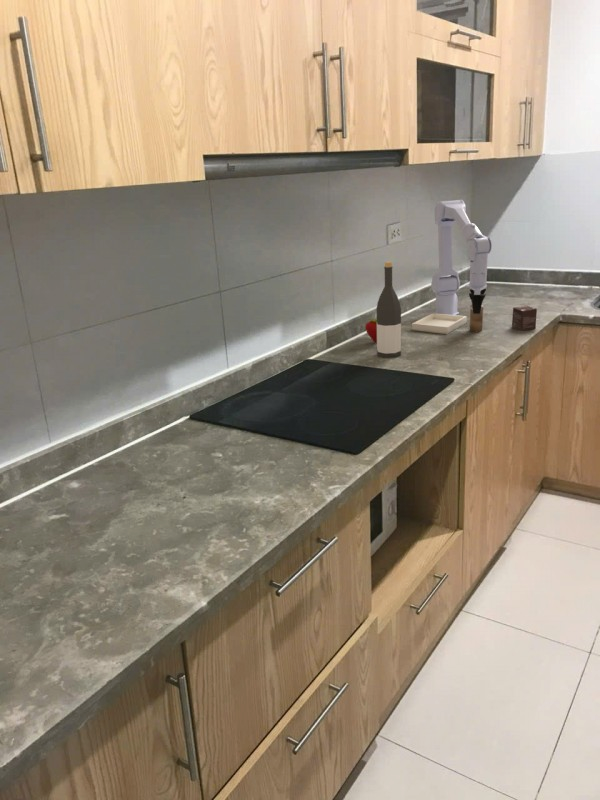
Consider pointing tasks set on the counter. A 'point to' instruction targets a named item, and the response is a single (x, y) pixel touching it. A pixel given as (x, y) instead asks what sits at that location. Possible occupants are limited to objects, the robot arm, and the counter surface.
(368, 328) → the strawberry
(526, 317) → the box
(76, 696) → the counter surface
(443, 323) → the tray
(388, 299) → the wine bottle
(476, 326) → the shaker
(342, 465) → the counter surface
